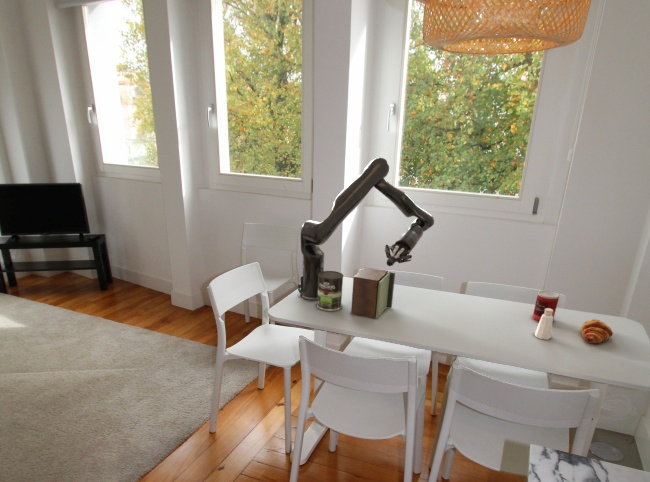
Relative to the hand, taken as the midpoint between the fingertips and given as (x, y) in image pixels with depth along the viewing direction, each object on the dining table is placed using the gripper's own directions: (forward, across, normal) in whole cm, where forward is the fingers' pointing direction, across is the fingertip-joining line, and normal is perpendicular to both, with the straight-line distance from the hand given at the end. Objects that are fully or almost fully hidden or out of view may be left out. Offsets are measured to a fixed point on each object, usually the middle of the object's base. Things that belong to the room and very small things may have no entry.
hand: (388, 264), depth 193 cm
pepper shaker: (-2, -64, -3) cm, 64 cm away
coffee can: (+22, +14, -15) cm, 30 cm away
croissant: (-13, -81, -3) cm, 82 cm away
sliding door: (+15, -8, -12) cm, 20 cm away
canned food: (-18, -63, -10) cm, 66 cm away
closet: (+16, -1, -13) cm, 21 cm away
